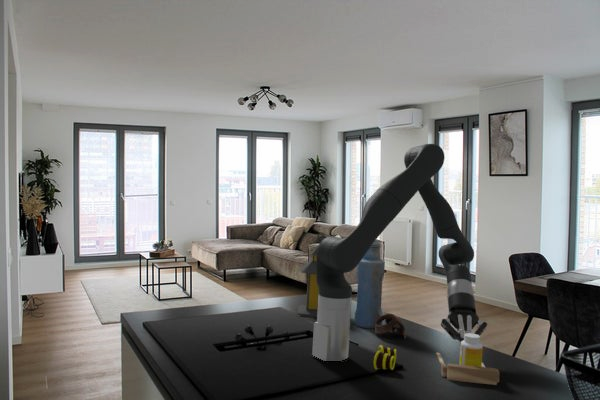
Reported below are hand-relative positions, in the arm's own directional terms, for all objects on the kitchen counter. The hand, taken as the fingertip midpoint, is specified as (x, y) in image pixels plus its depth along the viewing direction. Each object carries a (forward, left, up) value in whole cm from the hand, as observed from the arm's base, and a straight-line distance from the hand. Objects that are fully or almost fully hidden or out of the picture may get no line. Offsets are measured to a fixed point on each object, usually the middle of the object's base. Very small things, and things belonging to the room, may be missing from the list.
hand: (467, 353), depth 138 cm
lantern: (+3, +67, -5) cm, 67 cm away
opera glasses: (-18, +12, -5) cm, 23 cm away
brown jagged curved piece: (+6, +32, -5) cm, 33 cm away
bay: (+1, +1, -4) cm, 5 cm away
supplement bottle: (-2, -2, -5) cm, 6 cm away
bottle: (+8, +45, -5) cm, 46 cm away
